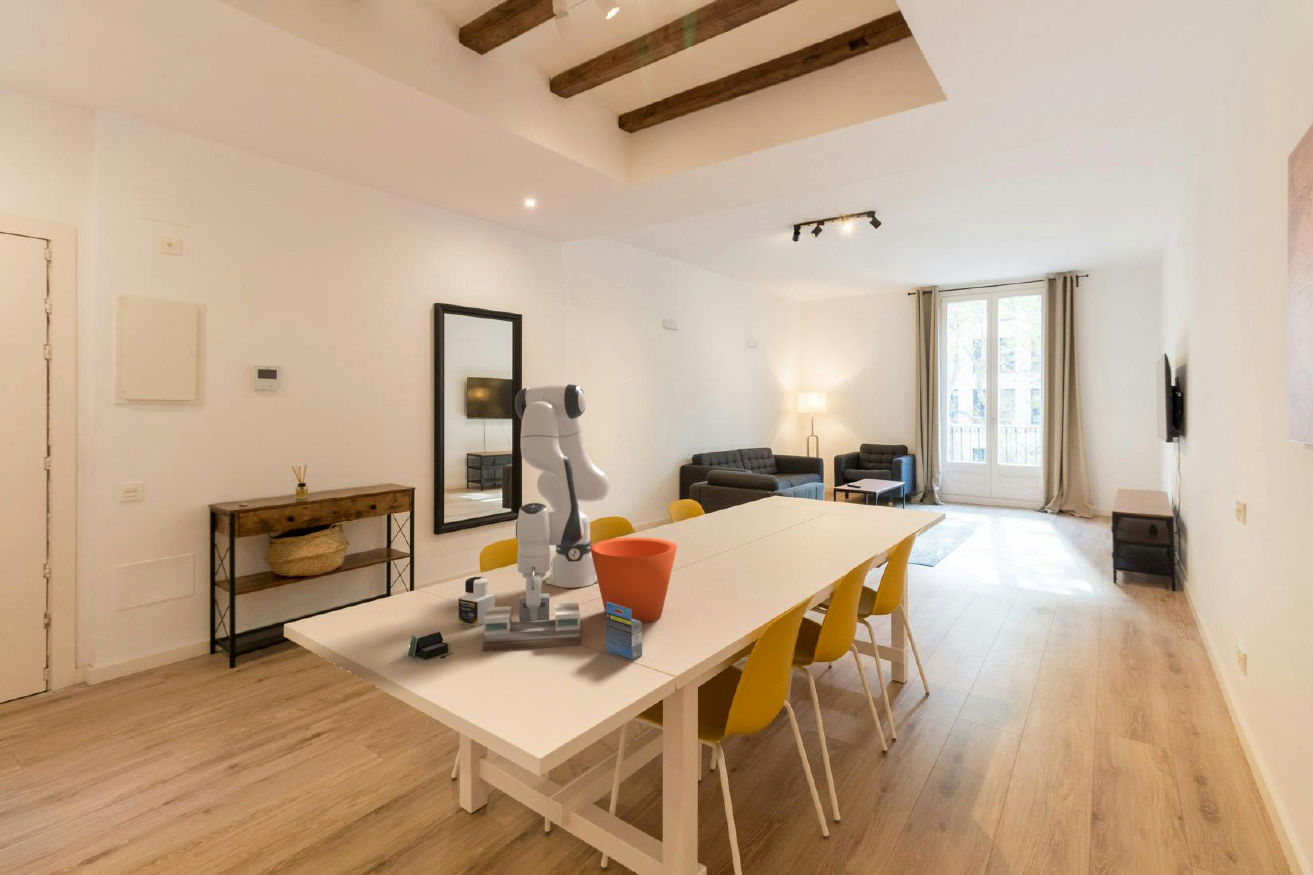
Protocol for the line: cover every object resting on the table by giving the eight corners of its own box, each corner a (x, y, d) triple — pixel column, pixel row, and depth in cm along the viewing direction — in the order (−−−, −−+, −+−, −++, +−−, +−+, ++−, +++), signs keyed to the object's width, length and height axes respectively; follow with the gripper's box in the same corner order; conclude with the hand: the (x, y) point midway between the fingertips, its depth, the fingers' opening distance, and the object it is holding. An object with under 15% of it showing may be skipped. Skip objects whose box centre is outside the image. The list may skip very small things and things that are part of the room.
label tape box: (643, 655, 149) (642, 605, 148) (631, 660, 145) (631, 609, 145) (616, 646, 154) (616, 597, 154) (605, 651, 151) (604, 601, 151)
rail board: (487, 633, 163) (487, 605, 163) (579, 628, 167) (579, 600, 167) (482, 651, 151) (482, 621, 151) (581, 644, 155) (581, 615, 155)
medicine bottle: (458, 622, 172) (457, 579, 171) (476, 614, 178) (476, 573, 177) (477, 626, 168) (476, 583, 168) (495, 618, 175) (495, 576, 174)
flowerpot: (668, 632, 164) (668, 558, 163) (578, 626, 169) (577, 554, 168) (683, 603, 188) (683, 539, 187) (604, 598, 193) (604, 535, 192)
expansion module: (520, 623, 171) (519, 594, 171) (549, 621, 173) (549, 593, 172) (519, 628, 167) (519, 599, 167) (549, 626, 168) (549, 597, 168)
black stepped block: (442, 639, 161) (441, 618, 160) (476, 653, 151) (475, 631, 151) (386, 657, 149) (385, 634, 149) (419, 673, 140) (418, 649, 139)
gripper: (545, 573, 159) (545, 625, 160) (546, 554, 180) (546, 601, 180) (520, 574, 158) (520, 627, 159) (523, 555, 179) (524, 602, 179)
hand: (534, 613), depth 170 cm, fingers open, 8 cm apart
